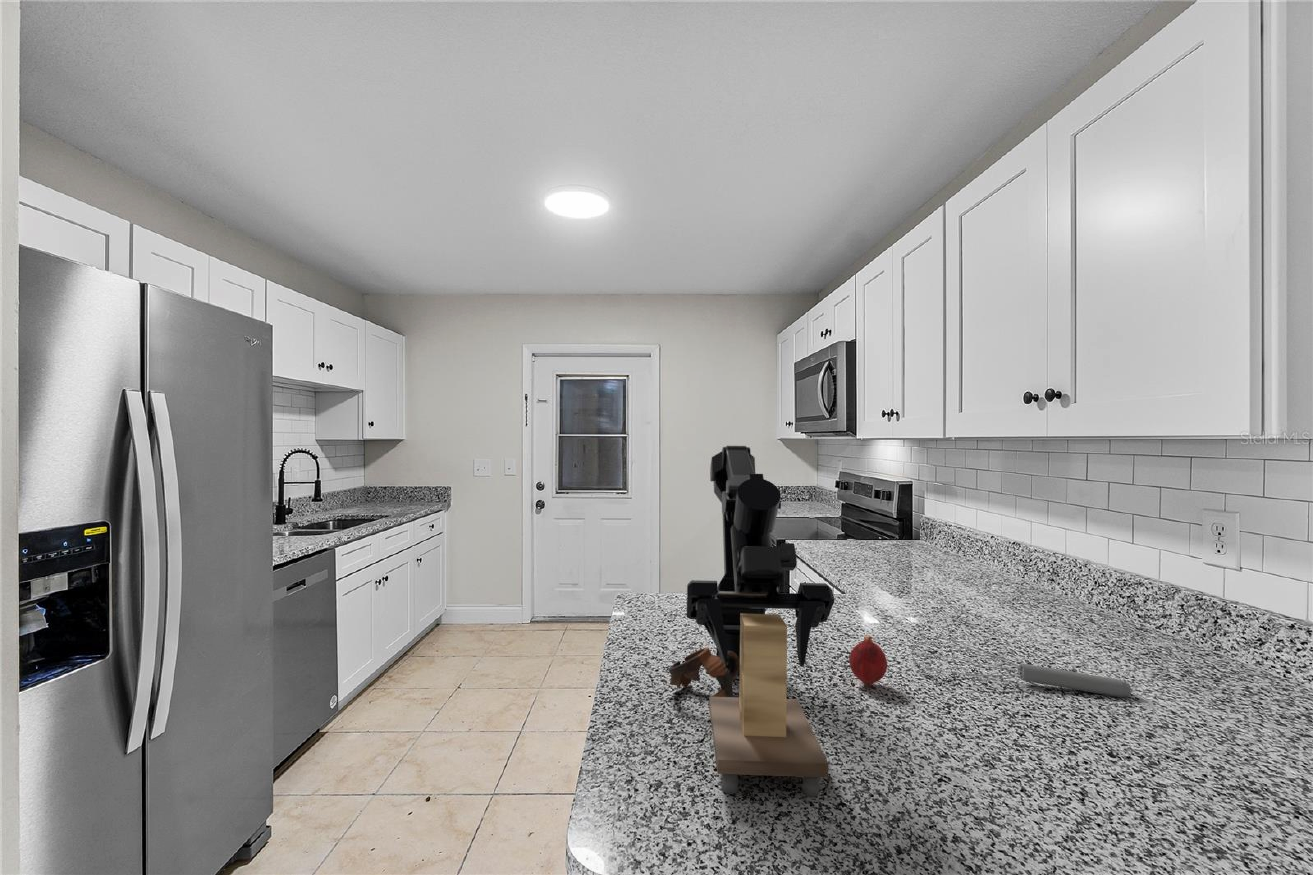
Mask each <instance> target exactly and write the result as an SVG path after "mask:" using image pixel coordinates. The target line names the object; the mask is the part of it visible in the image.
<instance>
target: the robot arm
mask: <svg viewBox="0 0 1313 875" xmlns="http://www.w3.org/2000/svg"><path fill="white" fill-rule="evenodd" d="M710 460H711V461H710V465H709V466H710V468H709V470H710V471H709V473H710V474H709V475H710V476H709V478H710V482H713V493H714V495H716V497H717V499H718V500H719V501H720V503H721V515H722V538H723V540H722V541H723V543H722V544H723V568H724V571H723V573H724V575H723V576H722V578H721V580H720V582H718V581H717V580H699V579H698V580H693V579H692V580H690V581H689V582H688V583H687V586H686V606H685V608H686V618H687V619H689V620H695V623H696V625H699V626H703V627H704V628H705V629H706V631H707V633H708V634H709V635H710V638H711V639H712V641H713V643H714V645H715V646H716V655H719V654H720V656H721V658H722V661H723V663H724V665H726V668H727V669H728V671H729V668H730V662H729V660H728V651H732V652H734V653H735V654H736V655H737V656H738V658H739V661H740V614H766V611H767V609H775V610H776V609H777V610H779V609H780V610H781V609H782V610H794V612H795V618H796V620H795V624H794V626H795V638H796V639H795V640H796V651H797V659H798V662H799V663H798V664H799V667H800V668H803V667H804V666H805V663H806V658H807V653H808V645H809V639H810V635H811V630H812V629H815V628H818V627H819V626H820V624H822V623H825V622H827V621H828V619H829V617H830V614H831V612H832V609H833V606H834V604H835V601H836V600H835V596H834V595H835V594H834V593H833V589H832V588H831V587H830V586H829V584H828V583H826V582H825V583H822V582H800V583H799V586H798V589H797V591H796V592H795V593H792V592H791V593H790V592H787V593H786V592H779V588H781V587H782V584H783V580H782V579H783V578H782V574H783V573H784V572H783V571H789V572H790V571H794V570H795V569H796V567H797V564H798V561H797V560H798V559H797V551H796V547H795V543H792V542H791V543H786V542H782V543H781V542H780V543H779V545H778V546H773V543H772V534H771V533H772V532H773V531H774V529H775V526H776V521H777V516H778V512H779V510H781V509H782V500H781V499H782V498H781V491H780V489H778V487H777V486H776V485H775V484H774V483H772V482H771V481H769V480H767V479H764V474H763V473H756V459H755V456H754V455H752V454H751V448H750V447H749V446H746V445H726V446H723V447H722V449H721V451H720V452H718V453H717V454H714V455H713V456H711V459H710ZM738 673H740V669H739V672H738Z"/></svg>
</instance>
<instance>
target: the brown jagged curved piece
mask: <svg viewBox="0 0 1313 875" xmlns="http://www.w3.org/2000/svg"><path fill="white" fill-rule="evenodd" d="M728 660H729V662H730V668H729V670H728V669H727V668H726V665H724V663H723V661H722V658H721V656H720V654H719V655H717V654H712V652H711V650H710V648H709V647H703V648H701V649H699V650H696V651H695V652H692V653H690V654H688V655H687V656H685V657H684V661H683V663H681V661H680V660H678V661H676V662H675V663H674V664H672V665H671V666H670V667H669V668H668V670H667V671H668V673H669V674H670V680H669V685H670V686H676V687H677V688H678V689H681V688H682V687H681V686H683V687H684V688H687V687H688V686H689V685H690V684H691V683H692V681H693V682H699V681H701V678H700V670H701V667H703V668H704V669H705V671H706V673H707V675H708V676H710V677H711V678H713V679H714V678H715V679H716V681H717V683H718V684H719V685H720V689H719V690H718V691H717V692H716V693H715V694H713V695H712V696H711V697H735V695H734V688H733V682H734V681H735V679H736V678H737V676H738V675H739V673H740V672H739V669H740V661H739V658H738V656H737V655H736V654H735V653H734V652H732V651H728Z"/></svg>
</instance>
